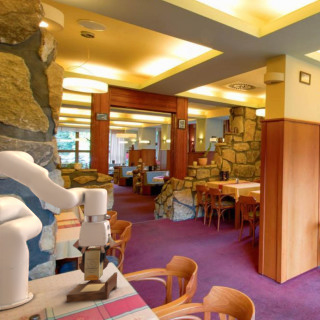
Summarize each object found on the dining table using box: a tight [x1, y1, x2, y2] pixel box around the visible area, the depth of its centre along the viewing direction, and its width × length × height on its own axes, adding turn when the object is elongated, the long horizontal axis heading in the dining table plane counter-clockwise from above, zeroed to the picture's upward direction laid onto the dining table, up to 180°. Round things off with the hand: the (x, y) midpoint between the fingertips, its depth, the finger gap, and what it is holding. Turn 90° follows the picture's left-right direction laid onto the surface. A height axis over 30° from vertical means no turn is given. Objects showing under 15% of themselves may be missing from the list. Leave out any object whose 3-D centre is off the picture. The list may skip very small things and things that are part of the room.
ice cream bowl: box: [78, 257, 110, 283], centre depth 129 cm, size 11×11×15 cm
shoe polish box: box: [83, 246, 104, 282], centre depth 118 cm, size 5×5×12 cm
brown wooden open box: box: [65, 271, 118, 303], centre depth 118 cm, size 14×10×7 cm
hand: (94, 261), depth 118 cm, fingers closed on shoe polish box, 5 cm apart
